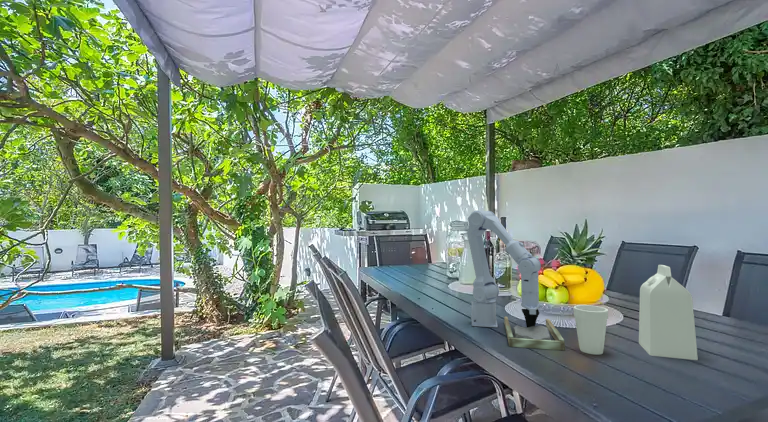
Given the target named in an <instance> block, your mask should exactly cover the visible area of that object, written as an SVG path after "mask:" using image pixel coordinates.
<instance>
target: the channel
mask: <svg viewBox="0 0 768 422" xmlns="http://www.w3.org/2000/svg"><path fill="white" fill-rule="evenodd" d="M503 321H504V323H503V324H504V328H505V332H506V333H505V334H506V339H507V342H508V346H509V347H510V348H523V349H525V348H526V349H527V348H528V349H537V350H538V349H540V350H551V351H552V350H554V351H566V345H565V344H566V343H565V339H564V338H563V337H562V335H561V333H560V331H559V330H558V329H557V328H556V327H555V325H554V323H553V322H552V321H551V319H550V318H545V327H547V328H548V331H549V334H551V335H550V336H552V338H553V339H551V340H539V339H524V338H515V337H514V336H513V335H512V331H513V330H512V328H511V327H512V326H511V325H510V322H509V318H508V316H504V318H503Z"/></svg>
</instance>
